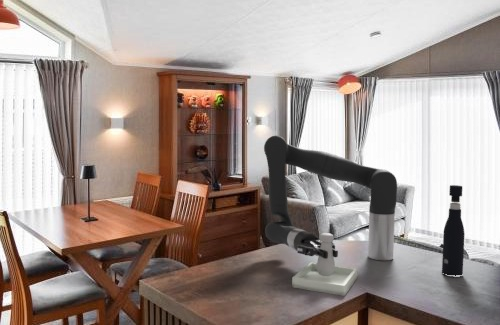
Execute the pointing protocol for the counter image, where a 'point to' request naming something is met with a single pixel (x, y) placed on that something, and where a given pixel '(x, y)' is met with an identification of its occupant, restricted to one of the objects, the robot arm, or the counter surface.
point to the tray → (325, 279)
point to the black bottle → (453, 236)
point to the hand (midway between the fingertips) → (331, 254)
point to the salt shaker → (328, 265)
